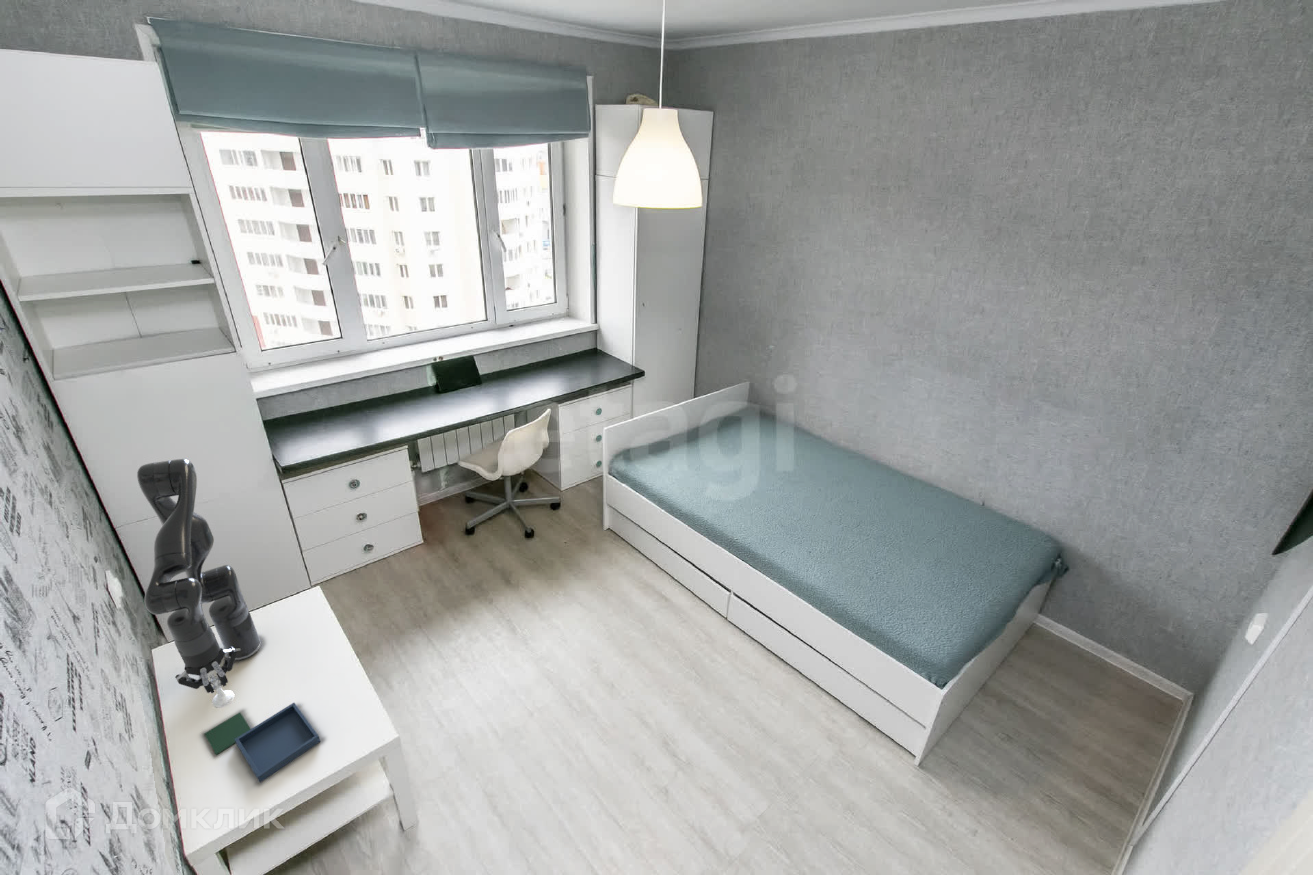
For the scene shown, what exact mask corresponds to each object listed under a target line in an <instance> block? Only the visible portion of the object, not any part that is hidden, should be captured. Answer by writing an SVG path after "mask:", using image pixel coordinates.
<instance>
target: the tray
mask: <svg viewBox="0 0 1313 875" xmlns="http://www.w3.org/2000/svg"><path fill="white" fill-rule="evenodd" d="M234 740H235V742H236V743H235V745H236V746H237V748H238V749H239V751H240V752H241V754H242V756H243V758H244V759H245V761H246V762H247V764H248V766H249V767H250V769H251V771H252V773H253V774H254V775H255V777H256V778H257V780H258V782H259V783H262V782H264V781H265V780H266V779H268V778H269V777H271V776H272V775H274V774H275V773H276V772H278V771H280V770H281V769H283V768H284V767H285V766H286V765H289V763H291V762H293V761H294V760H296V759H297V758H298V757H300V756H302V755H303V754H305V753H306V752H307V751H309V750H311V749H312V748H313V747H315V746H316V745H318V744H319V743H320V742H321V739H320V736H319V734H318V733H317V731H316V730H315V728H313V726H312V724H311V723H310V722H309V720H308V719H307V718H306V716H305V715H304V714H303V712H302V711H301V710H300V708H299V707H298V706H297V704H296V703H295V702H292V703H291V704H289V705H287V706H285V707H283V709H281V710H279V711H278V712H276V713H274V714H273V715H272V716H270V717H268V718H266V719H265V720H263V721H261V722H260V723H259V724H256V725H255V726H253V727H252V728H250V730H249V731H247V732H245V733H244V734H242V735H241V736H239V737H237V738H236V739H234Z"/></svg>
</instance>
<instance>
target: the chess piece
mask: <svg viewBox="0 0 1313 875" xmlns="http://www.w3.org/2000/svg"><path fill="white" fill-rule="evenodd" d="M209 678H210V680H209V682H210V683H211V685H212V687H213V689H214V691H216V694H215V695H214V696H213V698H212V700H211V703H212V706H213V707H214V708H219V709H220V708H223V707H226V706H228V705H229V704H231V703H232V702H233V700H234V699H235V693H234V691H233V690H229V689H225V690H223V685H222V683H221V682H220V680H219V678H218V676H215V675H214V674H211V675H209Z"/></svg>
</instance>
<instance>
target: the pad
mask: <svg viewBox="0 0 1313 875" xmlns="http://www.w3.org/2000/svg"><path fill="white" fill-rule="evenodd" d="M250 729H251V727H250V725H249V723H248V722H247V720H246V719H245V717H244V716H243V714H242V713H241V712H238V713H236V714H235V715H232V716H231V717H229V718H228V719H226V720H224V721H222V722H221V723H219V724H218V725H216V726H215V727H213V728H211V729H209V730H208V731H205V733H203V734H204V736H205V738H206V740H207V741H208V743H209V745H210V747H211V748H212V750H213V752H214V754H215V756H218V755H219V754H221V753H222V752H224V751H225V750H227V749H229V748H230V747H232V746H234V745H236V742H235V740H234V739H236V738H237V737H239V736H241V735H242V734H244V733H245V732H247V731H249V730H250Z"/></svg>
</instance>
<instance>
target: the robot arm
mask: <svg viewBox="0 0 1313 875" xmlns="http://www.w3.org/2000/svg"><path fill="white" fill-rule="evenodd" d="M195 468H196V467H195V466H194V464H193V463H192V461H190V460H189V459H188V458H178V459H170V460H161V461H157V462H149V463H146V464H145V463H144V464H142V465H140V467H139V468H138V469H137V472H136V479H137V483H138V486H139V488H140V490H141V492H142V494H143V496H144V497H145V499H146V501H147V502H148V503H149V505H150V507H151V509H153V512H154V513H155V514H156V516H157V517H158V520H159V522H160V523H161V527H160V528H159V530H158V532H157V533H156V536H155V539H154V543H153V570H152V574H151V577H150V580H149V583H148V585H147V588H146V591H145V594H144V600H143V601H144V607H145V609H146V610H147V611H148V612H149V613H150V614H152V615H156V616H157V615H164V614H168V613H170V615H169V616H168V617H167V619H166V625H167V629H168V630H169V632H170V634H171V636H172V638H173V641H174V645H175V647H176V650H177V652H178V653H179V655H180V658H181V660H182V661H183V663H184V671H182V672H181V673H178V674H176V675H175V676H174V677H175V678H174V679H175V680H176V682H177V683H178V684H179V685H181V686H184V687H188V688H191V689H194V690H199V689H200V688H201V687H203V688H204V690H205V691H206V694H210V693H211V694H214V693H215V691H216V690H214V689H213V685H212V684H211V683H210V680H209V676H208V674H209V673H211V672H213V671H215V672H216V677H218V678H219V682H220V683H222V688H225V687H226V686H227V683H228V682H229V680H228V678H227V675H226V674H227V673H228V672H231V671H232V670H233V667H234V664H235V661H242V660H246V659H248V658H250V657H252V656H254V655H255V654H256V653H257V652H258V651H259V650H260V649H261V646H262V640H261V638H260V636H259V633H258V631H257V627H256V626H255V623H254V620H253V617H252V615H251V612H250V610H249V608H248V605H247V603H246V601H245V600H246V599H245V598H244V595H243V593H242V589H241V587H240V584H239V580H238V577H237V573H236V572H235V569H234V567H232V566H231V565H229V564H224V565H220V566H218V567H214V568H211V569H208V570H205V571H202V569H203V566H204V564H205V562H206V560H207V559H208V556H209V554H210V553H211V551H212V548H213V547H214V546H213V545H214V542H215V538H214V534H213V532H212V529H211V527H210V525H209V523H208V521H207V519H205V518H204V517H203V516H201V515H200V514H199V513H197V512H195V503H196V497H197V496H196V494H197V486H198V479H197V477H198V476H197V473H196V469H195ZM176 496H177V501H175V499H173V498H172V497H176ZM182 573H184V574H185V576H186V577H184V578H180V579H175V580H172V579H173V578H174V577H176V576H178V575H180V574H182ZM208 603H211V604H210V605H209V607H208V615H209V618H210V619H211V621H212V624H213V625H214V628H215V630H216V632H217V635H218V637H219V639H220V641H221V644H222V646H223V648H222V647H220V645H219V642H218V640H217V638H216V635H215V632H214V631H213V629H212V627H211V626H210V625H209V623H208V621H207V619H206V617H205V614H204V611H203V604H208ZM223 659H224V661H223ZM222 661H223V666H221V663H222ZM190 675H193V676H198V677H199V678H198V679H197V678H194V677H190Z"/></svg>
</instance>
